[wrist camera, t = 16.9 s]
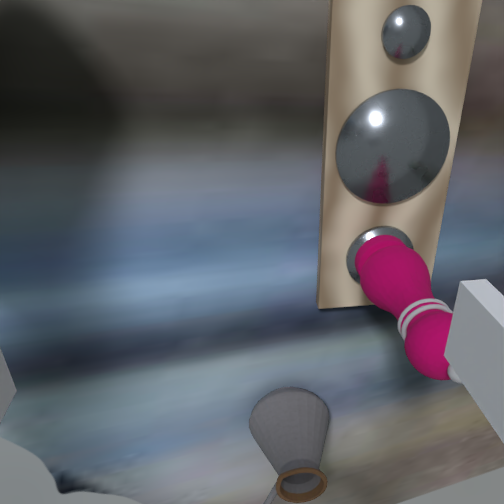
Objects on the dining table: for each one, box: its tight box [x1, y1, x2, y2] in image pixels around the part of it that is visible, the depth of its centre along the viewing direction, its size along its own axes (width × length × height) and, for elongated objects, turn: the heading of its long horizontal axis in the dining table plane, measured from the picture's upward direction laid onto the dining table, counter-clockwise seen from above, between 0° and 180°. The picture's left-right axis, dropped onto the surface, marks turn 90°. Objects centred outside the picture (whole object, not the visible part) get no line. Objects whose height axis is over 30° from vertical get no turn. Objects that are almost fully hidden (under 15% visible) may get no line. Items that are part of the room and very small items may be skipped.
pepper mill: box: [355, 235, 462, 383], centre depth 44 cm, size 7×7×20 cm
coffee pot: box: [249, 387, 329, 504], centre depth 61 cm, size 21×12×15 cm, turn 142°
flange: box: [346, 226, 414, 284], centre depth 53 cm, size 8×8×1 cm
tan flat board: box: [316, 0, 482, 309], centre depth 49 cm, size 14×36×2 cm, turn 2°
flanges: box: [335, 5, 450, 203], centre depth 45 cm, size 12×19×1 cm, turn 2°
